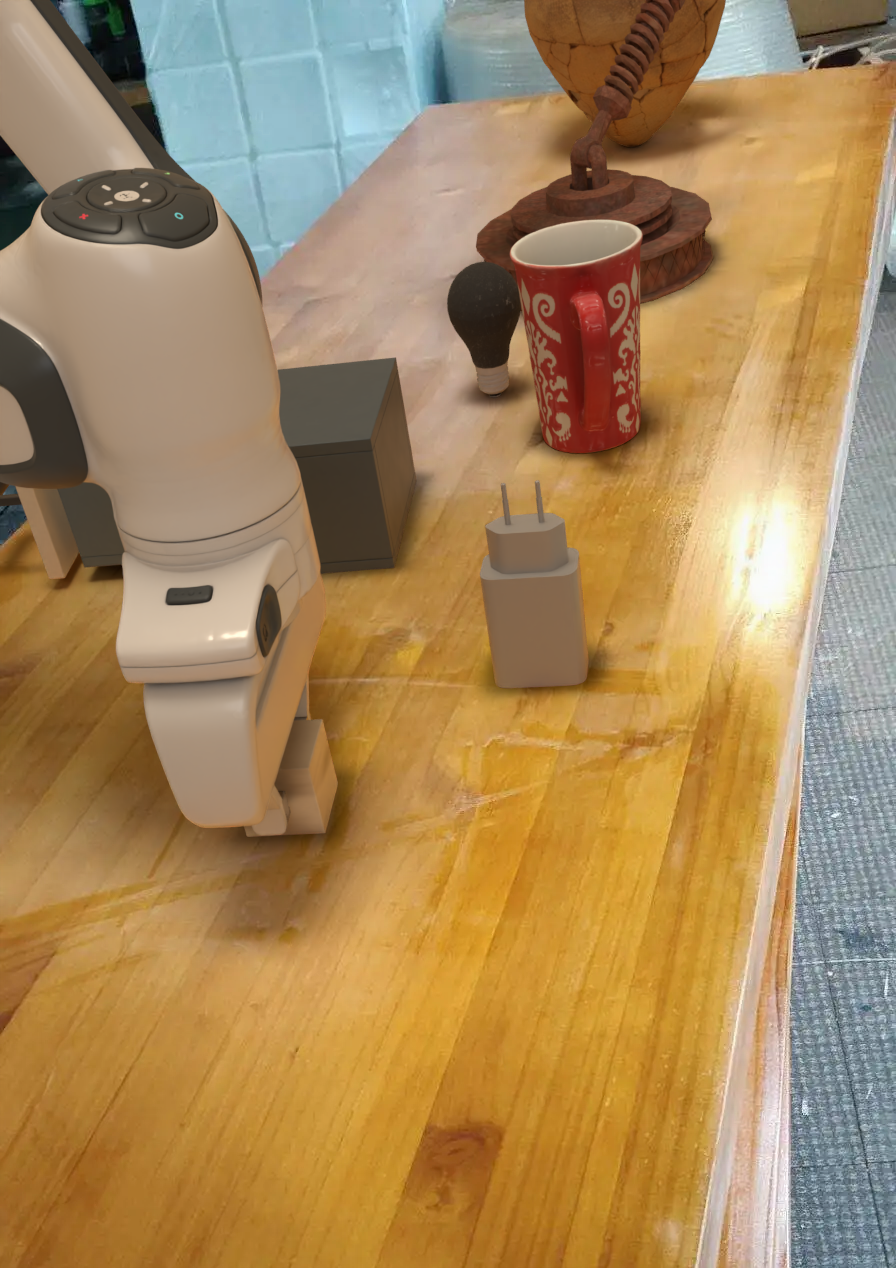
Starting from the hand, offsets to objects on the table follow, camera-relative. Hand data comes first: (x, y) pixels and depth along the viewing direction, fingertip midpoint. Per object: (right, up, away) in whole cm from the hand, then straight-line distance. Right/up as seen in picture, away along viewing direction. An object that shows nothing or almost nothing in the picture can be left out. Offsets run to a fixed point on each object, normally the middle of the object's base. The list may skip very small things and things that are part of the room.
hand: (286, 784), depth 79 cm
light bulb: (+12, +35, +37) cm, 53 cm away
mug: (+19, +28, +28) cm, 45 cm away
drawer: (-14, +21, +26) cm, 37 cm away
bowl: (+29, +78, +78) cm, 114 cm away
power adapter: (+14, +7, +8) cm, 18 cm away
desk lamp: (+21, +52, +53) cm, 77 cm away
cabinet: (-1, +21, +25) cm, 32 cm away
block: (0, -1, +1) cm, 2 cm away
